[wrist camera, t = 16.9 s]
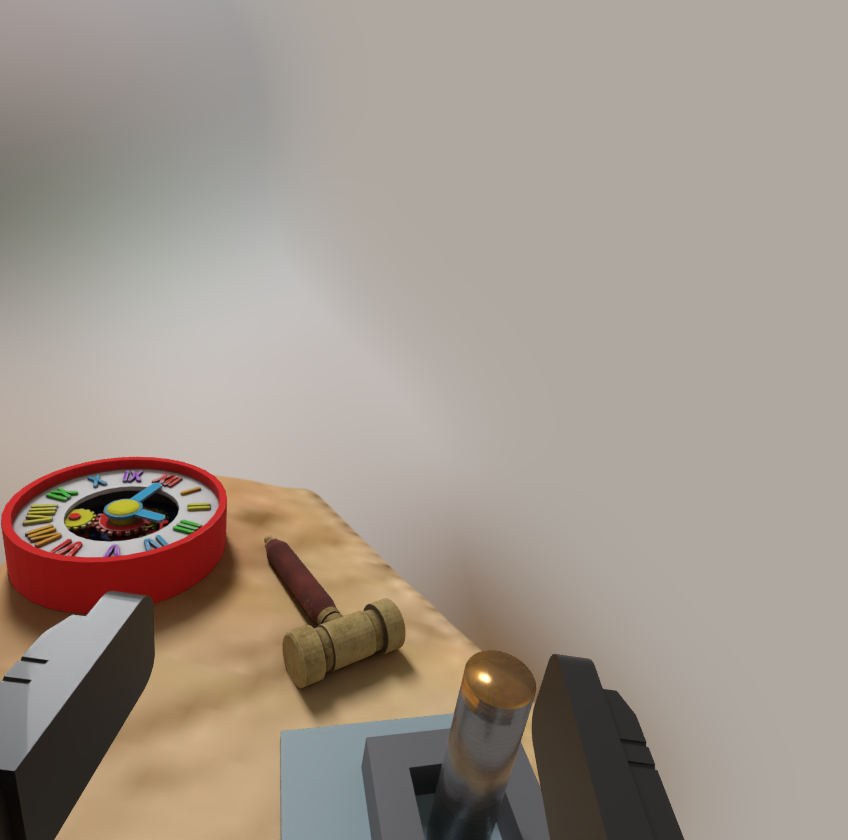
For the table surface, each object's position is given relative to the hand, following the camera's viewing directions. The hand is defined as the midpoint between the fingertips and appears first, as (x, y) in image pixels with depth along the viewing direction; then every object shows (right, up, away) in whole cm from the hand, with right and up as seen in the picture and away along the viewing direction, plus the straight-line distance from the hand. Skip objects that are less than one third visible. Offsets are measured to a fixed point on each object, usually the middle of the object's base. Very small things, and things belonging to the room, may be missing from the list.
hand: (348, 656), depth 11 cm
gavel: (-11, -14, +44) cm, 48 cm away
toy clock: (-30, -9, +47) cm, 57 cm away
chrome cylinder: (+4, -22, +25) cm, 33 cm away
